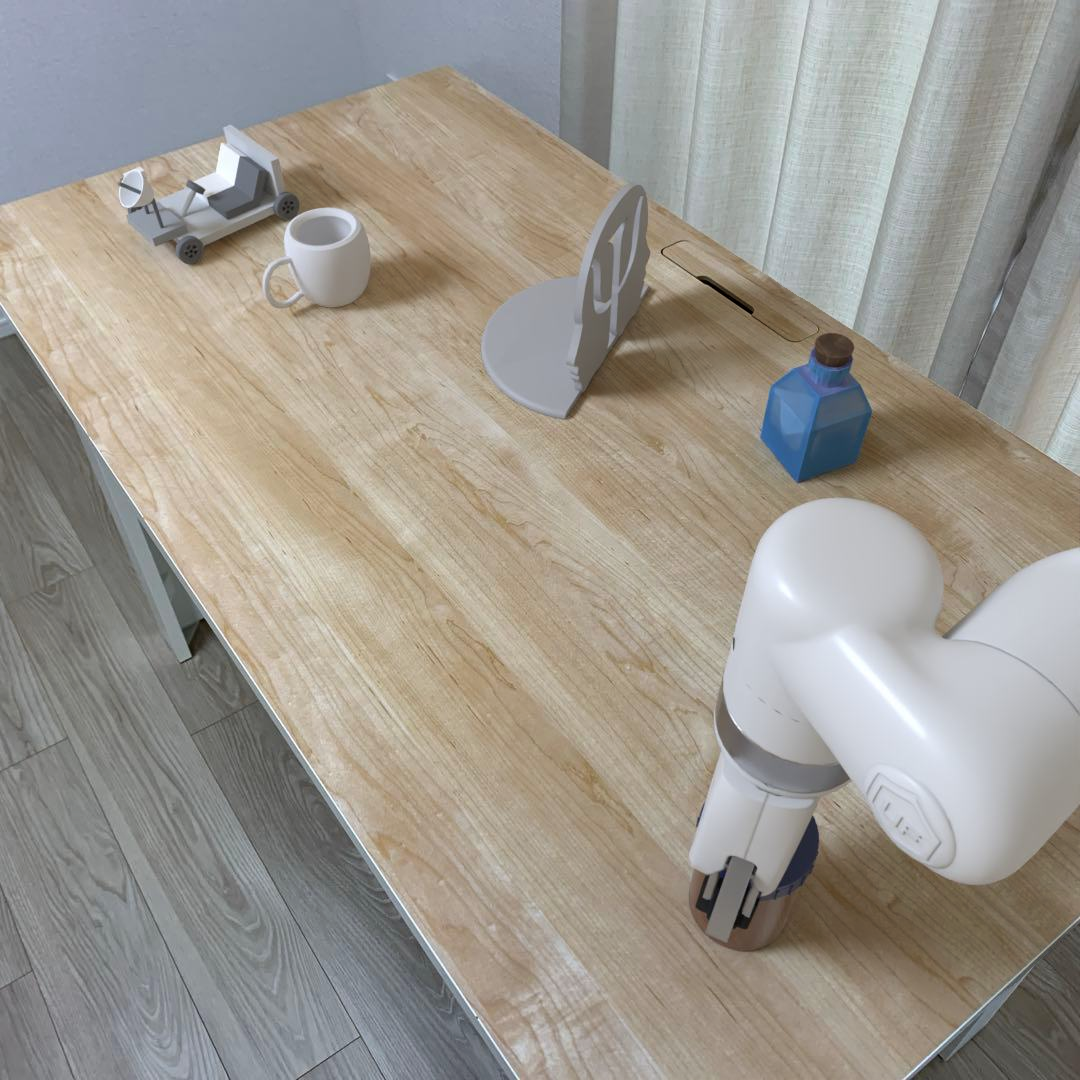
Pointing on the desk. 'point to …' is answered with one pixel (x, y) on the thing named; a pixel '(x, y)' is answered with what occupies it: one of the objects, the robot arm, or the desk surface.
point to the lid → (793, 863)
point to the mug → (324, 258)
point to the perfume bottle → (817, 412)
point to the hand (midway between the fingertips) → (741, 858)
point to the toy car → (211, 199)
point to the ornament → (572, 314)
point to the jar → (762, 925)
